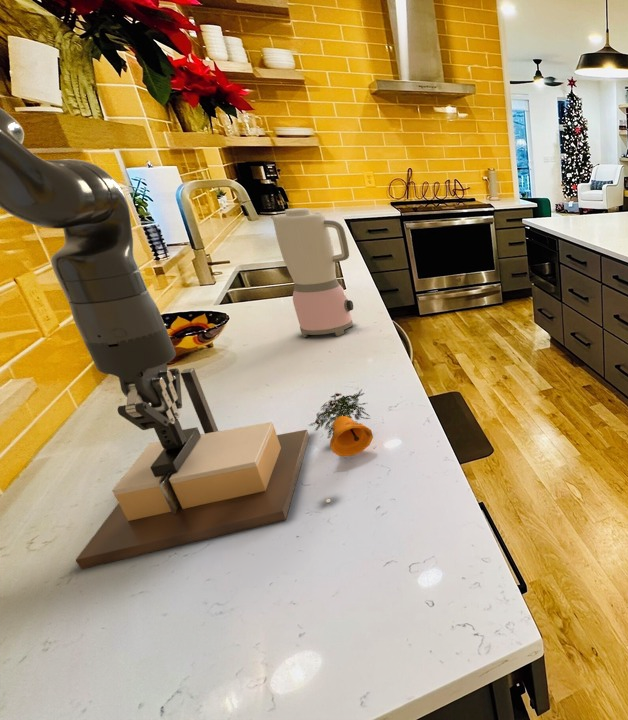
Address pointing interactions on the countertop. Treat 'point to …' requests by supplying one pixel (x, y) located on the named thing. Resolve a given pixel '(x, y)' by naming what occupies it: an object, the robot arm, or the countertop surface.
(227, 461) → the tan rounded box
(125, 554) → the board
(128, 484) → the slice
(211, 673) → the countertop surface
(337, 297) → the blender
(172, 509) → the knife
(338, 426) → the christmas decoration
